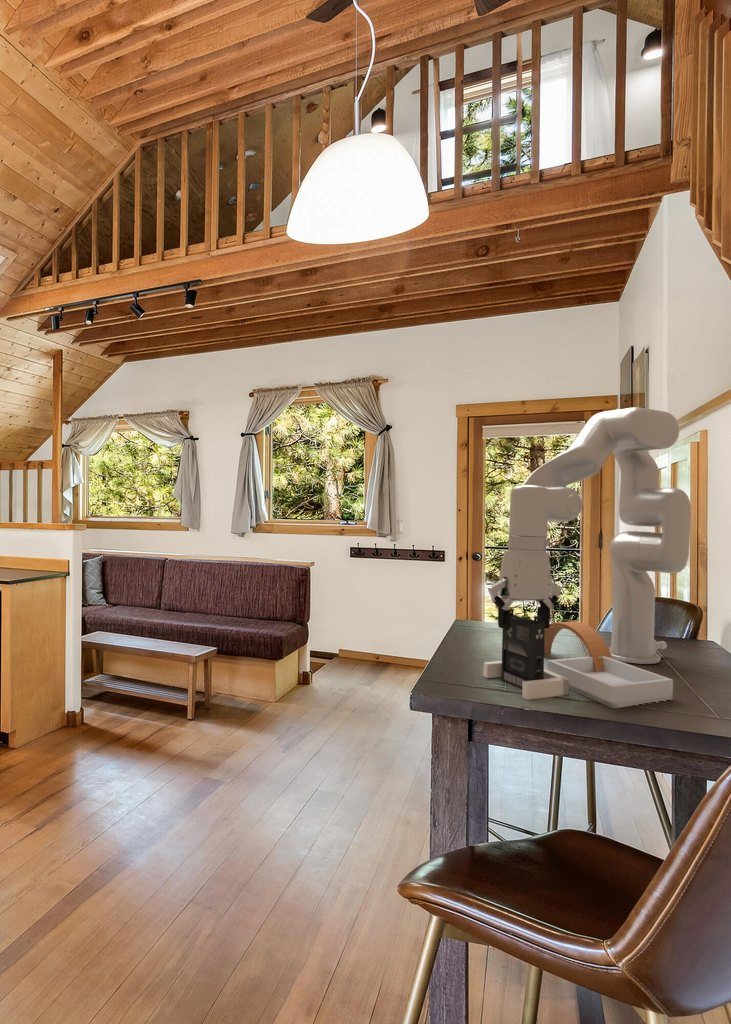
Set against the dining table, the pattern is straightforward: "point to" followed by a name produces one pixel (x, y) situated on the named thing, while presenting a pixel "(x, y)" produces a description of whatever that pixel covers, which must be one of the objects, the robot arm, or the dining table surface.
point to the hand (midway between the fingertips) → (523, 627)
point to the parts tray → (613, 681)
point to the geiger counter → (523, 650)
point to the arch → (586, 635)
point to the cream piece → (533, 682)
